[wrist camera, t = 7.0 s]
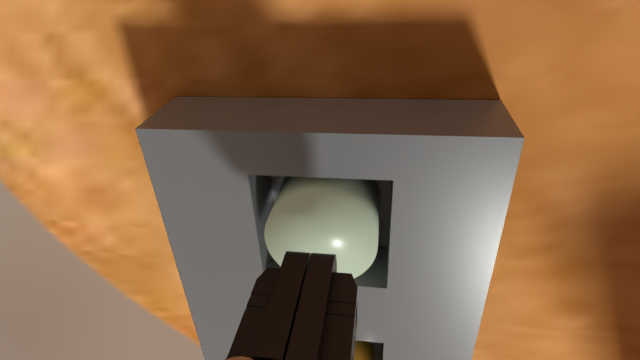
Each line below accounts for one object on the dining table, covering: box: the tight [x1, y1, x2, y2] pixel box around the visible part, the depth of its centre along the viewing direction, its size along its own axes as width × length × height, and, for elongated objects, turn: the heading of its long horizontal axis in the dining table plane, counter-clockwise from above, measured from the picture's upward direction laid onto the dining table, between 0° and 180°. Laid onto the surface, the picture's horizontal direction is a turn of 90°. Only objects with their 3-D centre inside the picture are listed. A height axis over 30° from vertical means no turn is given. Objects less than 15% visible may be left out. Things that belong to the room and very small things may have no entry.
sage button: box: [264, 176, 380, 278], centre depth 15 cm, size 4×4×3 cm
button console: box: [136, 96, 524, 360], centre depth 20 cm, size 24×12×3 cm, turn 2°
